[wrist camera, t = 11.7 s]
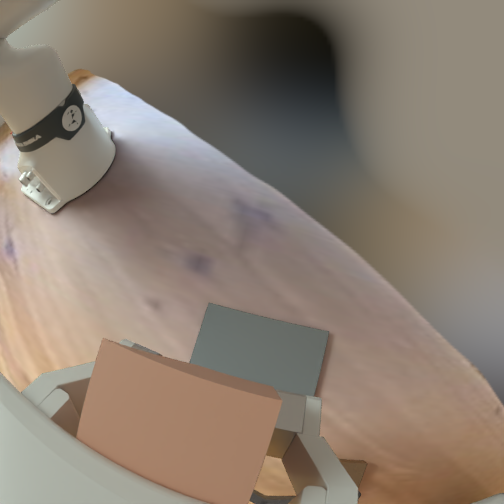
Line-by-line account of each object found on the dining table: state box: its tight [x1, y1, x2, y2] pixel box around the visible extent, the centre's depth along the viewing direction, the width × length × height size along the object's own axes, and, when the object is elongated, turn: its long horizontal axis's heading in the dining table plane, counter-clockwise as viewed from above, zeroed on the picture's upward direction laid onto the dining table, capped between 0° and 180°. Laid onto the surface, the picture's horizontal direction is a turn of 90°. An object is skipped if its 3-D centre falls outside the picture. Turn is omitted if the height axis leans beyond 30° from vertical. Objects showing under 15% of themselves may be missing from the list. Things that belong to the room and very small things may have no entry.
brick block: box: [76, 338, 282, 504], centre depth 8 cm, size 4×4×9 cm
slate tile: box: [190, 303, 329, 397], centre depth 24 cm, size 12×9×1 cm
